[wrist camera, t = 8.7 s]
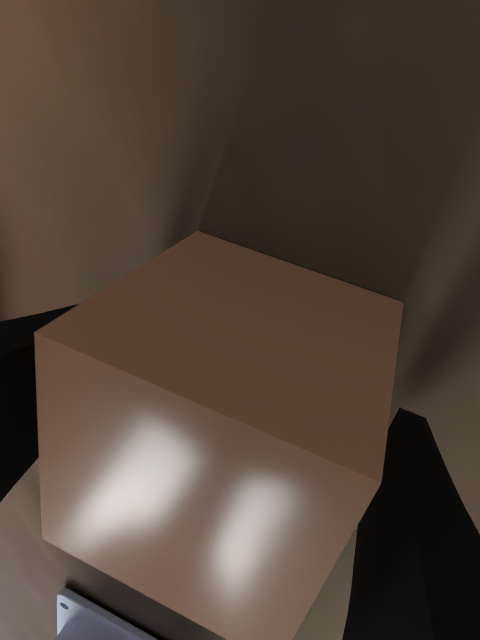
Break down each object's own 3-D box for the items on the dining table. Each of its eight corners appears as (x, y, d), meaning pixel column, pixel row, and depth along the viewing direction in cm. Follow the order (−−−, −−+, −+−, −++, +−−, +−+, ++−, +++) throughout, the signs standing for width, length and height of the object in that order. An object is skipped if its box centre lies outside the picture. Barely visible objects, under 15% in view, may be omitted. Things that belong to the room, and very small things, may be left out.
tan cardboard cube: (332, 457, 14) (277, 666, 9) (171, 388, 15) (42, 538, 10) (403, 302, 11) (381, 483, 6) (197, 230, 12) (33, 332, 7)
